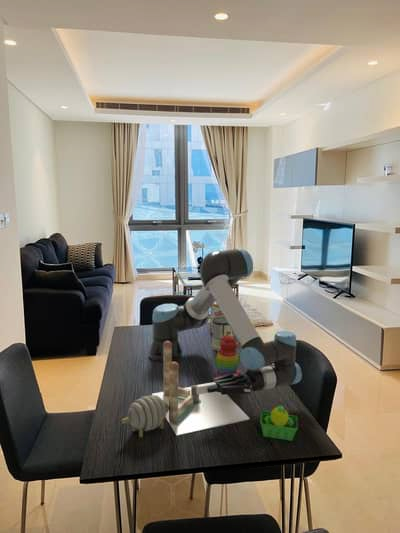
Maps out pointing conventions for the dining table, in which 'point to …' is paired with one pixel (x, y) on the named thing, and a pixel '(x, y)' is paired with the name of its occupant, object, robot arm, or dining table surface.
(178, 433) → the card
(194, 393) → the wooden post with ball
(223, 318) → the coffee can
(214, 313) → the candy bar box
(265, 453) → the dining table surface
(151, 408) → the toy sheep
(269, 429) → the fruit basket
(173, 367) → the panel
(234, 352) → the stacking bear
